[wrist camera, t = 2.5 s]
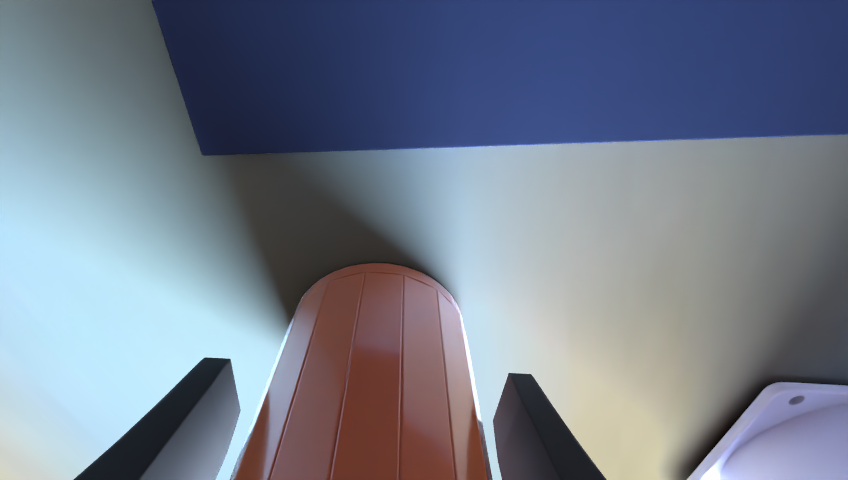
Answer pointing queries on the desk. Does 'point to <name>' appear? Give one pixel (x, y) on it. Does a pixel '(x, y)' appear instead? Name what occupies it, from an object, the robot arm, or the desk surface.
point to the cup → (370, 386)
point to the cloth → (503, 71)
